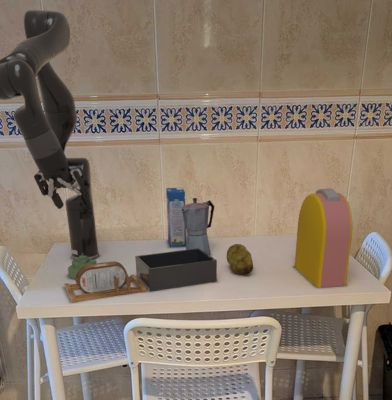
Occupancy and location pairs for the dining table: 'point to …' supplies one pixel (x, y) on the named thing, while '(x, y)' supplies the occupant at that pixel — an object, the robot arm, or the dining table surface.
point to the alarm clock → (324, 238)
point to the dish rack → (117, 291)
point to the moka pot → (197, 224)
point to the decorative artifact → (79, 265)
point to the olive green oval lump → (239, 259)
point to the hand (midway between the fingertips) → (73, 206)
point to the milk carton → (176, 217)
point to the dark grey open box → (176, 269)
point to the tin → (100, 276)
